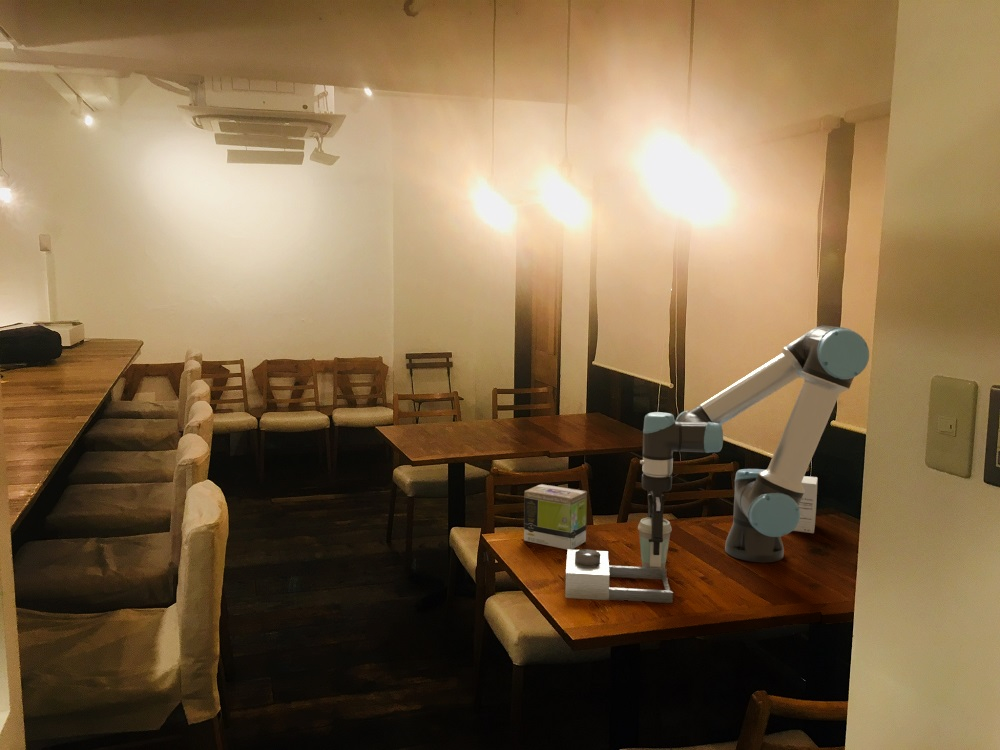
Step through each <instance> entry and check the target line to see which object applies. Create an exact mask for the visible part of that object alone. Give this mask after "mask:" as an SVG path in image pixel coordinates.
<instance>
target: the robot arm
mask: <svg viewBox="0 0 1000 750" xmlns="http://www.w3.org/2000/svg"><path fill="white" fill-rule="evenodd" d="M869 360H870V348H869V346H868V344H867V342H866V339H864V338H863V336H861V334H859V333H858V332H855V330H852V329H850V328H845V327H841V326H835V325H830V324H823V325H820V326H819V325H818V326H816V327H814V328H812V329H810V330H808V331H807V332H805V333H804V334H802V335H800V336H799V337H798V338H796V339H794V340H793V341H792V342H790V343H789V344H786V345H785V346H784V347H783V348H782V351H781V353H780V354H779V355H777V356H775V357H774V358H772V359H771V360H769V361H768V362H765V364H763V365H761V366H759V367H758V368H756V369H755V370H753V371H751V372H750V373H748V374H747V375H746V376H743V377H742V378H741V379H739V380H737V381H735V382H733V383H732V384H731V385H730V386H728V387H726V388H725V389H723V390H722V391H720V392H719V393H717V394H715V395H714V396H713V395H712V397H710V398H709V399H708V400H706V401H704V402H702V403H701V404H699V405H698V406H696V407H694V408H693V409H691V410H685V411H682V412H680V413H679V414H678V415H677V417H676V419H675V416H674V414H673V413H669V412H660V411H654V412H649V413H647V414H645V416H644V418H643V419H644V420H643V429H642V459H641V460H640V461H639V464H640V465H642V467H641V468H642V469H641V470H642V474H641V487H642V489H643V490H645V491H648V494H647V502H648V503H647V508H648V513H647V516H648V517H647V518H649V517H650V518H652V538H651V539H649V542H651V545H650V566H653V567H661V550H662V542H663V519H664V512H665V511H664V509H665V507H664V506H665V502H666V498H665V495H664V494H663V493H664V492H666V493H667V492H669V491H670V490H672V485H673V475H672V473H673V463H674V458H673V455H674V454H673V453H674V452H680V453H681V452H682V453H683V452H687V453H688V452H689V453H706V454H709V453H719V452H721V450H722V448H723V444H724V430H723V426H722V425H724V424H726V423H727V422H729V421H731V420H732V419H734V418H736V417H737V416H739V415H741V414H742V413H743V412H745V411H746V410H748V409H751V408H752V407H753V406H755V405H757V404H758V403H760V402H761V401H763V400H764V399H766V398H768V397H770V396H771V395H773V394H774V393H776V392H777V391H779V390H781V389H782V388H784V387H786V386H787V385H789V384H791V383H792V382H794V381H795V380H797V379H798V378H801V379H804V382H803V384H802V387H801V389H800V391H799V394H798V396H797V399H796V400H795V403H794V405H793V407H792V410H791V412H790V415H789V417H788V420H787V422H786V424H785V427H784V428H783V431H782V434H781V436H780V439H779V441H778V443H777V445H776V448H775V450H774V452H773V455H772V456H771V460H770V462H769V465H768V467H767V468H766V469H761V468H742V469H738V470H737V471H736V473H735V478H734V496H733V497H734V499H733V518H732V519H733V521H732V525H731V528H730V529H729V532H728V535H727V537H726V538H725V539H726V540H725V544H724V545H725V547H724V551H725V553H727V554H728V555H729V556H731V557H732V558H735V559H739V560H741V561H746V562H753V563H763V564H764V563H774V562H779V561H781V560H783V558H784V555H785V553H784V552H785V551H784V550H785V548H784V544H783V541H782V537H784V536H786V535H788V534H790V533H792V532H794V531H793V530H794V529H795V527H796V526H797V524H798V522H799V519H800V509H799V504H800V501H801V499H802V496H803V494H804V492H805V491H804V489H803V486H802V483H801V482H802V480H803V478H804V476H806V472H807V470H808V468H809V466H810V463H811V461H812V458H813V456H814V454H815V452H816V450H817V447H818V445H819V442H820V441H821V437H822V435H823V433H824V432H825V429H826V426H827V424H828V421H829V419H830V417H831V414H832V412H833V409H835V405H836V403H837V401H838V399H839V396H840V394H842V393H844V392H846V391H848V390H849V389H850V388H851V385H852V383H853V381H854V379H855V378H856V377H857V376H858V375H860V374H861V373H862V372H863V371H864V370H865V369H866V368H867V366H868V363H869Z"/></svg>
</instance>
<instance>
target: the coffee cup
mask: <svg viewBox="0 0 1000 750" xmlns="http://www.w3.org/2000/svg"><path fill="white" fill-rule="evenodd" d="M637 529H638V532H639V534H638V535H639V544H640V545H639V546H640V547H639V548H640V557H641V558H640V561H641V567H653V566H650V545H651V542H649V539H651V538H652V518H650V517H649V518H648V517H644V518H641V519H640V521H639V523H638V526H637ZM672 531H673V530H672V526H671V522H670V521H669V520H668V519H666V518H663V542H662V550H661V567H653V568H666V561H667V556H668V550H669V544H670V537H671V533H672Z"/></svg>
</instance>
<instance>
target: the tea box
mask: <svg viewBox="0 0 1000 750" xmlns="http://www.w3.org/2000/svg"><path fill="white" fill-rule="evenodd" d="M523 496H524V497H523V498H524V504H523V509H524V510H523V515H524V516H523V540H524V541H525V542H530V543H534V544H539V545H543V546H548V547H553V548H558V549H562V550H568V549H570V550H575V548H577V547H579V546H581V545H582V544H583V543H586V540H587V502H588V497H587V496H588V491H586V490H582V489H581V490H580V489H576V488H570V487H562V486H555V485H549V484H548V485H547V484H543V483H541V484H538V485H536V486H533V487H531V488H529V489H526V490H524V495H523Z"/></svg>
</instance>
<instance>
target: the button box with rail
mask: <svg viewBox="0 0 1000 750" xmlns="http://www.w3.org/2000/svg"><path fill="white" fill-rule="evenodd" d="M566 553H567V554H566V567H565V568H566V569H565V589H564V590H565V593H564V594H565V596H564V597H565V599H579V600H580V599H581V600H597V601H600V600H601V601H610V600H611V601H624V600H628V601H629V602H642V601H645V603H646V602H647V603H661V604H663V603H665V604H673V601H674V600H673V597H674V592H673V590H671V587H670V584H669V581H668V577H667V575H668V574H667V572H668V571H667V570H668V569H667V567H665V568H653V567H642V566H628V565H611V564H609V562H610V561H609V551H608V550H594V549H588V548H587V549H585V548H584V549H572V550H570V549H568V550H567V552H566ZM610 578H624V579H626V578H629V579H645V580H647V579H648V580H662V584H663V588H664V589H648V588H646V589H645V588H630V587H628V588H627V587H610ZM628 601H627V602H628Z"/></svg>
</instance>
